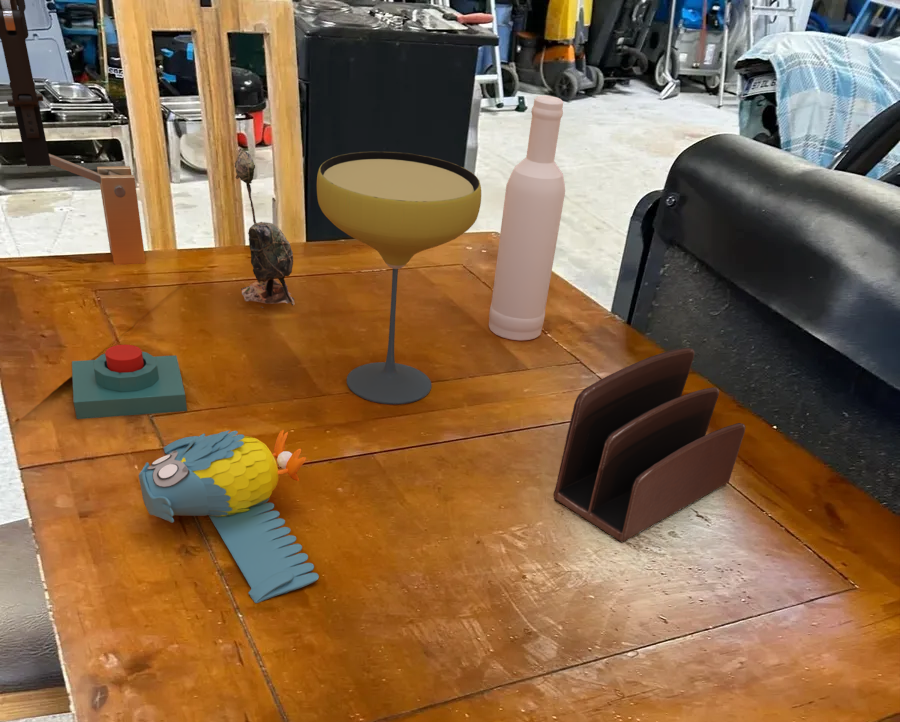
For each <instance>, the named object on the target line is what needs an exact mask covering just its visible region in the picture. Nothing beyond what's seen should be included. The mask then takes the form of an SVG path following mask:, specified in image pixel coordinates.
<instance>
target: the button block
mask: <svg viewBox="0 0 900 722" xmlns="http://www.w3.org/2000/svg"><path fill="white" fill-rule="evenodd" d="M142 355H143V362H144V367H143V368H142V369H140V370H137V371H134V372H125V373H119V372H114V371H110V370H109V369H108V367H107V361H106V356H105V353H102V354H101V355H99V356H97V358H96V359H88V360H85V359H83V360H71V376H72V378H71V379H72V397H73V399H72V400H73V407H74V412H75V416H76V417H75V418H76V419H77V420H85V419H97V418H112V417H125V416H126V417H127V416H139V415H152V414H153V415H154V414H164V413H177V412H178V413H181V412H188V407H187V406H188V405H187V397H186V392H185V387H184V382H183V378H182V374H181V370H180V364H179V361H178V356H177V355H176V354H175V355H173V354H172V355H159V356H158V355H157V356H154V355H152V354H150V353H148V352H147V351H142Z"/></svg>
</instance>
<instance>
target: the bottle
mask: <svg viewBox="0 0 900 722" xmlns="http://www.w3.org/2000/svg"><path fill="white" fill-rule="evenodd" d="M533 100H534V101H533V105H532V107H531V121H530V128H529V129H530V130H529V135H528V142H527V150H526V155H525V156H526V157H524V158H523V159H522V160H521V161H519V162H518V163H517V164H516V165H515V166H514V167H513V170H512V172H511V173H510V176H509V178H508V181H507V183H506V186H505V192H504V193H505V194H504V202H503V207H502V208H503V209H502V217H501V225H500V231H499V232H500V233H499V241H498V249H497V257H496V263H495V264H496V265H495V271H494V272H495V273H494V280H493V287H492V295H491V303H490V307H489V313H488V318H489V319H488V328H489V330H490V331H491V332H492V333H493V334H494V335H496V336H498V337H500V338H503V339H507V340H509V341H519V342H524V341H530V340H534V339H536V338H538V337H539V336H541V334H542V330H543V326H544V323H545V318H546V307H547V301H548V295H549V289H550V284H551V278H552V272H553V266H554V260H555V254H556V250H557V249H556V248H557V243H558V236H559V230H560V225H561V219H562V212H563V207H564V202H565V196H566V186H565V185H566V184H565V178H564V173H563V171H561V169H560V168H559V166H558V165H557V163H556V161H555V157H556V151H557V146H558V145H557V144H558V140H559V132H560V125H561V120H562V118H563V114H564V110H563V106H564V101H563V100H562V99H561V98H559V97H558V96H553V95H543V94H542V95H537V96H536V97H535V98H534V99H533Z"/></svg>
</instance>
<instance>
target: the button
mask: <svg viewBox="0 0 900 722" xmlns="http://www.w3.org/2000/svg"><path fill="white" fill-rule="evenodd" d="M142 352H143V350H142V349H141V348H140V347H138V346H136V345H133V344H117V345H113V346H110V347H109V348H107V349H106V350H105V352H104V354H105V356H106V361H107V367H108V369H109V370H110V371H114V372H119V373H125V372H134V371H137V370H140V369H142V368H143V367H144V362H143V355H142Z"/></svg>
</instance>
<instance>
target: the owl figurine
mask: <svg viewBox="0 0 900 722" xmlns="http://www.w3.org/2000/svg"><path fill="white" fill-rule="evenodd" d="M238 433H239V431H237V430H233V431H231V430H230V429H228V430H225V431H220V432H219V433H212V434H209V435H206V433H201V434H200V435H193V436H191V435H190V436H185V437H182V438H179V439H176V440H174V441H172V442H170V443H168V444H167V445H165V446H164V447H163V451H164V453H165V455H163V456H162V457H159V458H157V459H156V460H154V461H153V462H152V463H151V464H150V463H149V462H148V461H147V462H145V464H144V466H143V467H142V469H141V470H140V472H139V473H138V481H139V485H140V491H141V496H142V500H143V504H144V506H145V508H146V510H147V512H148V514H149V516H154V517H157V518H160V519H163V520H164V521H167V522H170V523H171V524H173V523H174V522H175V519H174V516H181V517H182V516H188V517H206V516H208V517H209V519H210V521H211V523H212V524H213V526H214V527H215V529H216V531H217V532H218V534H219V536H220V537H221V539H222V541H223V543H224V544H225V546H226V548H227V549H228V551H229V552H230V554H231V556H232V558H233V560H234V561H235V563H236V565H237V566H238V568H239V570H240V571H241V573H242V575H243V577H244V579H245V580H246V582H247V585H249V587H250V590H249V591H248V592H247V593H248V595H249V597H250V598H251V600H252V601H253V602H254V603H255V604H259V603H261V602H264V601H266V600H269V599H272V598H275V597H278V596H283V595H286V594H288V593H289V592H293V591H295V590H299V589H301V588H304V587H306V586H308V585H311V584H313V583H315V582H317V580H319V577H320V576H319V574H318V573H317V572H312V571H314V569H315V564H313V562H307V561H308V560H309V555H308V554H307V553H305V552H301V551H302V550H303V545H301V544H300V543H295V542H296V541H297V537H296V536H295V535H294V534H290V533H291V531H292V530H291V528H290V527H288V526H284V525H286V520H285V519H284V518H279V517H280V514H281V512H279V511H278V510H273V509H274V508H275V504H274V503H273V502H268V501H270V498H271V495H272V494H273V492H274V490H275V489H276V487H277V485H278V482H279V476H280V475H284V474H287V475H288V476H289V478H290V479H292V480H294V481H297V482H299V481H300V478H299V475H298V472H299V471H300V469H301V467H302V466H303V465H304V463H306V459H307V457H306V456H302V457H300V456H301V453H302V447H301V448H298V449H296V450H294V452H293V453H292V452H290V451H285V449H286V442H287V439H288V437H289V431H287V432H285V429H282V430H280V431H279V433H278V435H277V437H276V440H275V443H274V448H273V452H272V451H271V449H269V447H268V446H267V445H266V443H264V442H263V441H261V440H259V439H258V438H255V437H253V436H249V435H244V434H238ZM279 468H281V469H279ZM289 534H290V535H289ZM299 552H300V553H299Z"/></svg>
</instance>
